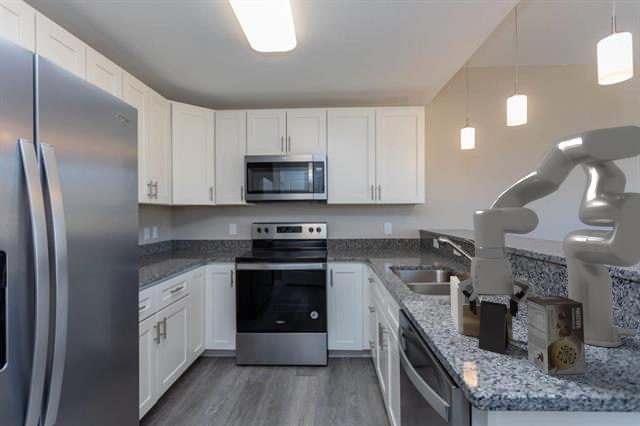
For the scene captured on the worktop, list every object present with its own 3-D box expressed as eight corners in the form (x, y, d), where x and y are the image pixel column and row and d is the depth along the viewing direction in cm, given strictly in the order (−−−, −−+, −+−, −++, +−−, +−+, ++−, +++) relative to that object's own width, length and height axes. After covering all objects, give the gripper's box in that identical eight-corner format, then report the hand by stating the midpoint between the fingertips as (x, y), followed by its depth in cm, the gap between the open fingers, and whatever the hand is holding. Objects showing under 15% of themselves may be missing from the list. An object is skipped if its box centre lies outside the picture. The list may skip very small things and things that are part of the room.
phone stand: (503, 355, 77) (502, 308, 77) (478, 348, 81) (477, 304, 81) (510, 343, 83) (509, 300, 83) (486, 337, 87) (485, 297, 87)
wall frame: (457, 314, 108) (456, 276, 108) (465, 333, 90) (464, 288, 91) (451, 314, 108) (450, 276, 108) (458, 333, 91) (457, 287, 91)
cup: (510, 295, 132) (509, 275, 132) (537, 299, 125) (537, 278, 125) (506, 299, 126) (506, 278, 126) (535, 303, 119) (534, 281, 120)
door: (462, 333, 90) (462, 303, 90) (511, 337, 86) (510, 307, 86) (463, 335, 88) (463, 305, 88) (513, 340, 84) (513, 309, 84)
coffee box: (562, 360, 73) (560, 295, 74) (586, 374, 67) (584, 302, 67) (526, 361, 73) (525, 296, 73) (548, 375, 66) (546, 303, 67)
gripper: (521, 251, 83) (524, 311, 83) (454, 251, 89) (457, 308, 88) (531, 255, 76) (534, 321, 76) (458, 255, 81) (461, 317, 81)
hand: (493, 314), depth 82 cm, fingers open, 9 cm apart
